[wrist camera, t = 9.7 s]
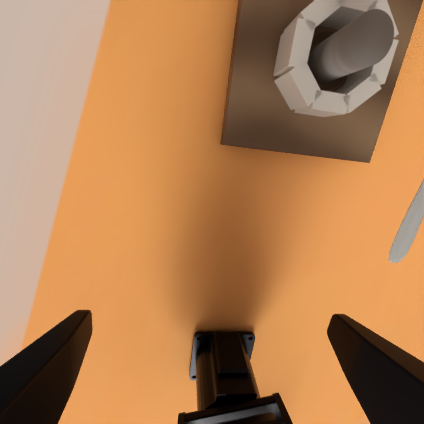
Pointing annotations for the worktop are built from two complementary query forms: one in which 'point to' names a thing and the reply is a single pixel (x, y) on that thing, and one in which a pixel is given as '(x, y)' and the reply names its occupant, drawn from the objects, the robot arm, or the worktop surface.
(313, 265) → the worktop surface
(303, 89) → the ring
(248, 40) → the peg stand
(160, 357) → the worktop surface
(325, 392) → the worktop surface
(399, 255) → the butter knife
